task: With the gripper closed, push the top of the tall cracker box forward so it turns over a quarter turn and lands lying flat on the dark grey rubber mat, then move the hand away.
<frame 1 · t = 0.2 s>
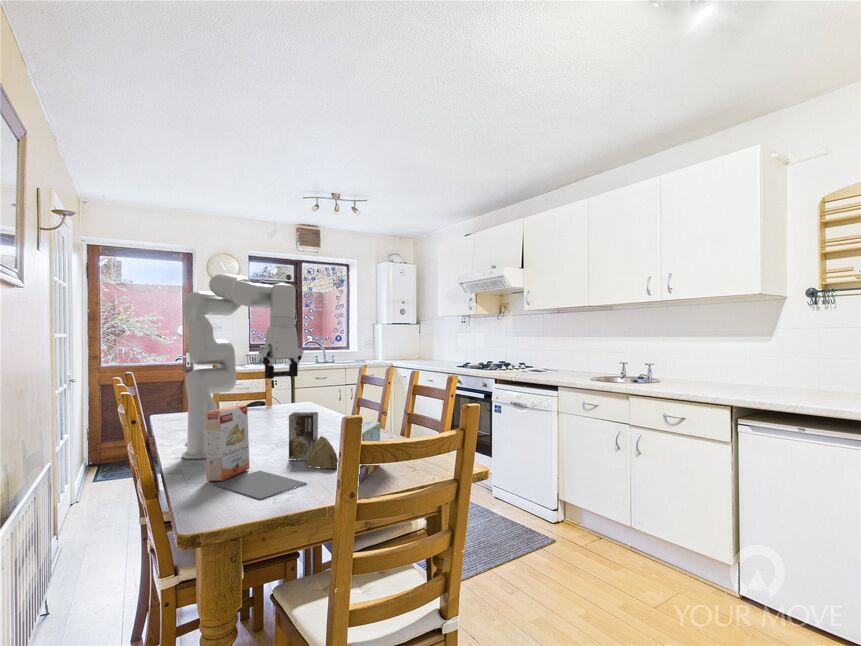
hand: (281, 377, 144), 31 cm above the table, tool pointing down, fingers open, 9 cm apart
mat: (259, 484, 135), on the table
rock: (322, 468, 153), on the table
coffee box: (303, 458, 164), on the table
snack box: (362, 474, 146), on the table
cracker box: (229, 475, 143), on the table, touching mat
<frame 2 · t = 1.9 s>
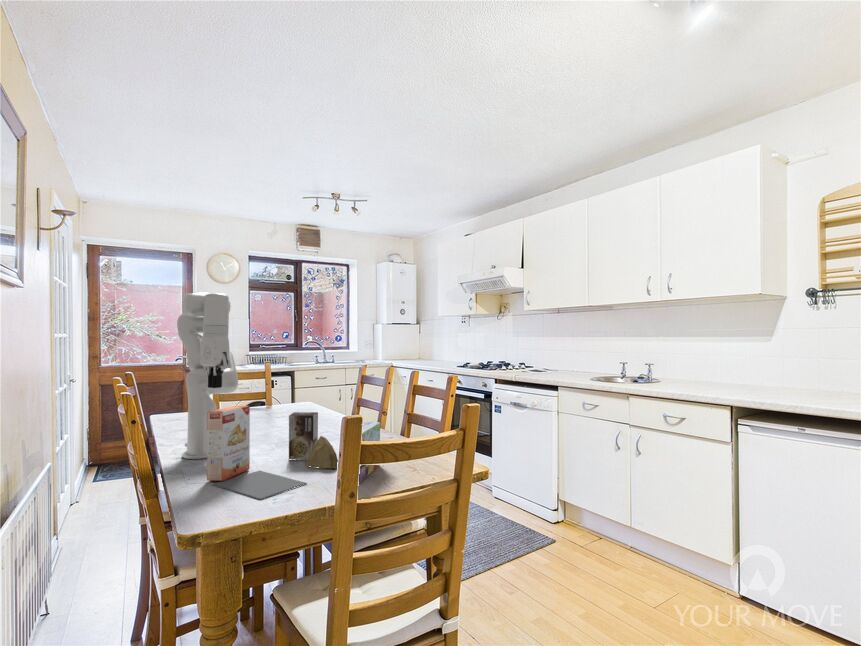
hand: (214, 387, 149), 27 cm above the table, tool pointing down, fingers closed
nothing on the table moved.
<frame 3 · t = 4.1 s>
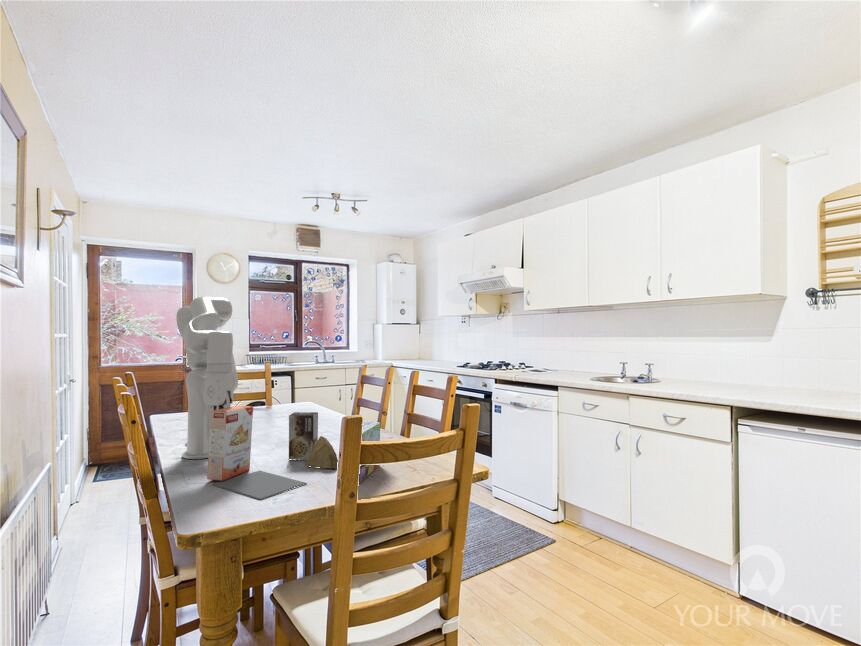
hand: (218, 426, 147), 15 cm above the table, tool pointing down, fingers closed
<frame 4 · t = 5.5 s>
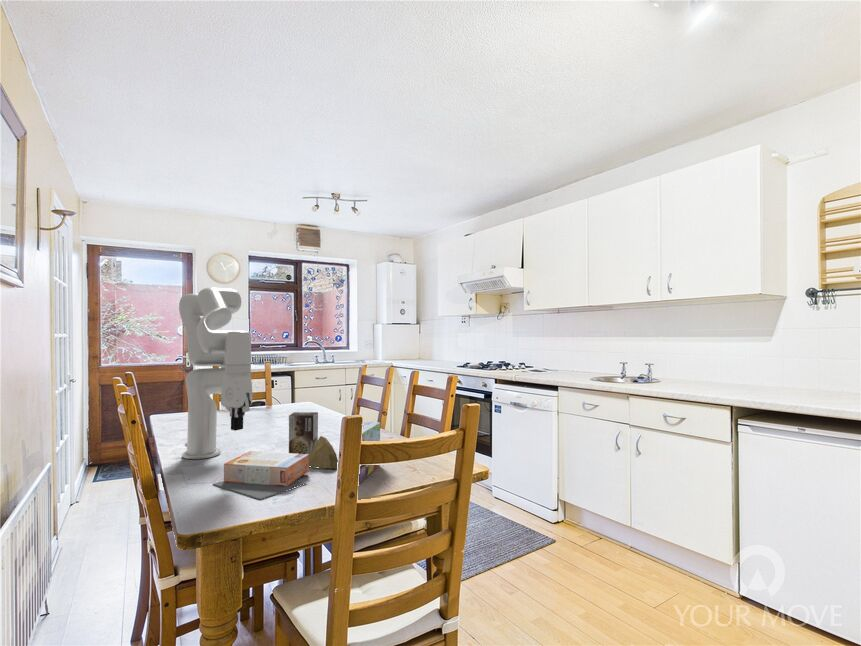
hand: (236, 429, 142), 15 cm above the table, tool pointing down, fingers closed
cracker box: (236, 466, 143), point 3 cm above the table, touching mat
everything else where it was.
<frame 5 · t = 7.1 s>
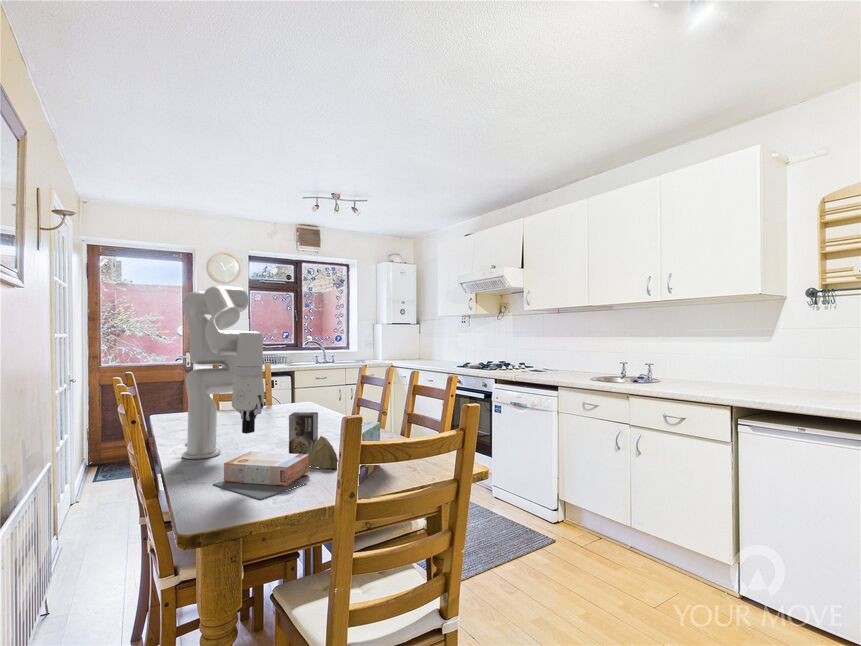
hand: (248, 432, 138), 15 cm above the table, tool pointing down, fingers closed
nothing on the table moved.
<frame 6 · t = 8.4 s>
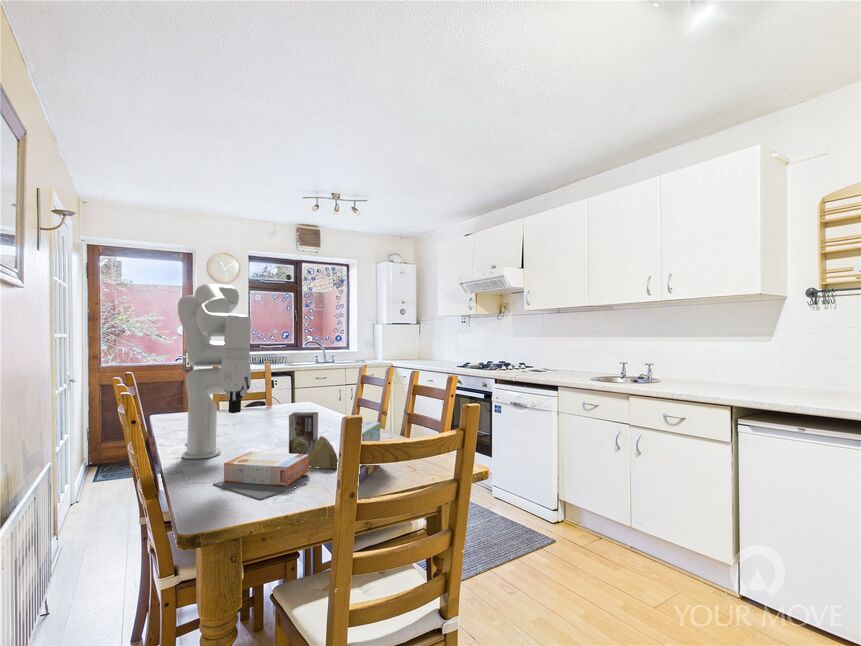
hand: (234, 412, 143), 20 cm above the table, tool pointing down, fingers closed
nothing on the table moved.
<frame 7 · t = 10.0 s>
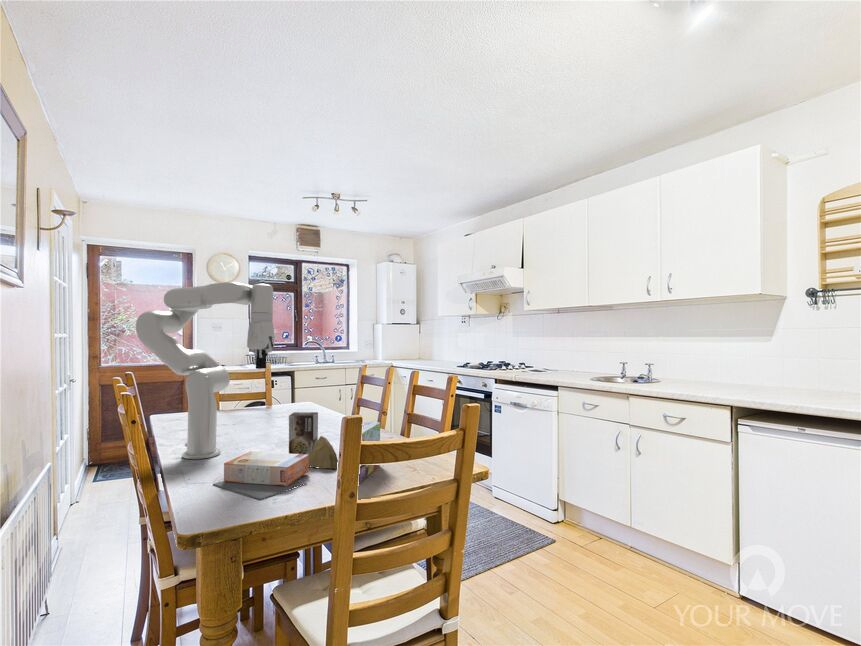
hand: (260, 368, 166), 32 cm above the table, tool pointing down, fingers closed
nothing on the table moved.
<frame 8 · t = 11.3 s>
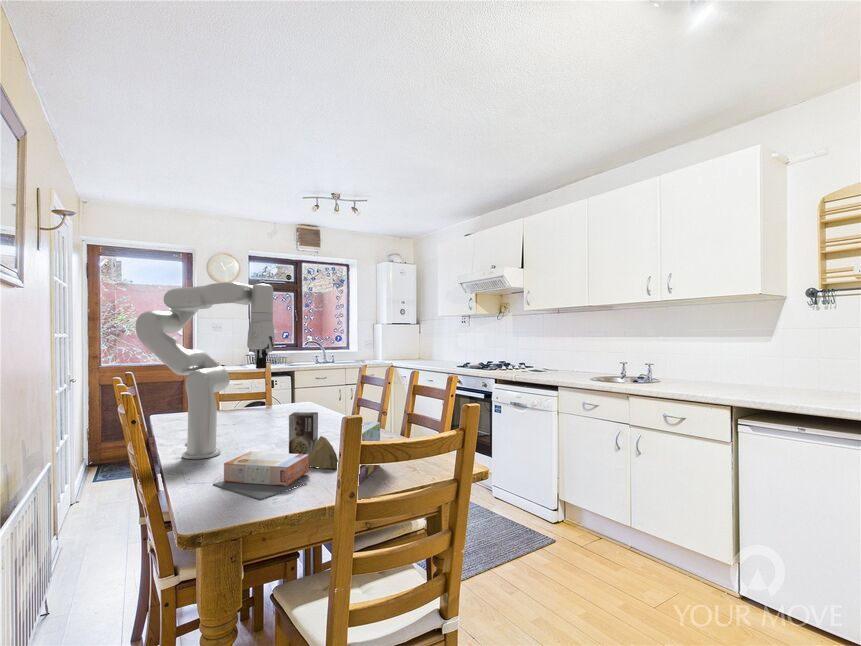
hand: (261, 368, 166), 32 cm above the table, tool pointing down, fingers closed
nothing on the table moved.
at the end: cracker box tilted 89°; cracker box inside the target area (6.3 cm from its centre), point 3.2 cm above the table; the gripper is holding nothing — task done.
